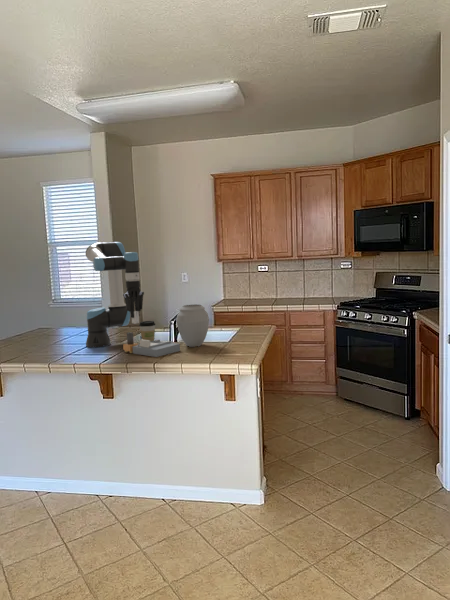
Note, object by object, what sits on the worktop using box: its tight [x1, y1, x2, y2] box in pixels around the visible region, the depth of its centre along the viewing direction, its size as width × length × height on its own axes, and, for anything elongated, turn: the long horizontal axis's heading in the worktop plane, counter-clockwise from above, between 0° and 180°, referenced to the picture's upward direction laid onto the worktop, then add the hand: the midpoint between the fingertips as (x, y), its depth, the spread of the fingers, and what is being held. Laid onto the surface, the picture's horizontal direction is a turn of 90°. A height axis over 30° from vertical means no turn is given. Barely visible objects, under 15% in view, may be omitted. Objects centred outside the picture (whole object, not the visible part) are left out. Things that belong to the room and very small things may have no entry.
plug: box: [122, 331, 139, 354], centre depth 267 cm, size 6×6×11 cm
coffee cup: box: [138, 320, 156, 342], centre depth 281 cm, size 10×10×15 cm
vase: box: [176, 303, 210, 348], centre depth 275 cm, size 20×20×24 cm
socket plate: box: [132, 339, 181, 358], centre depth 264 cm, size 20×18×5 cm
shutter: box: [139, 338, 158, 348], centre depth 263 cm, size 8×8×4 cm
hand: (135, 323), depth 254 cm, fingers closed
